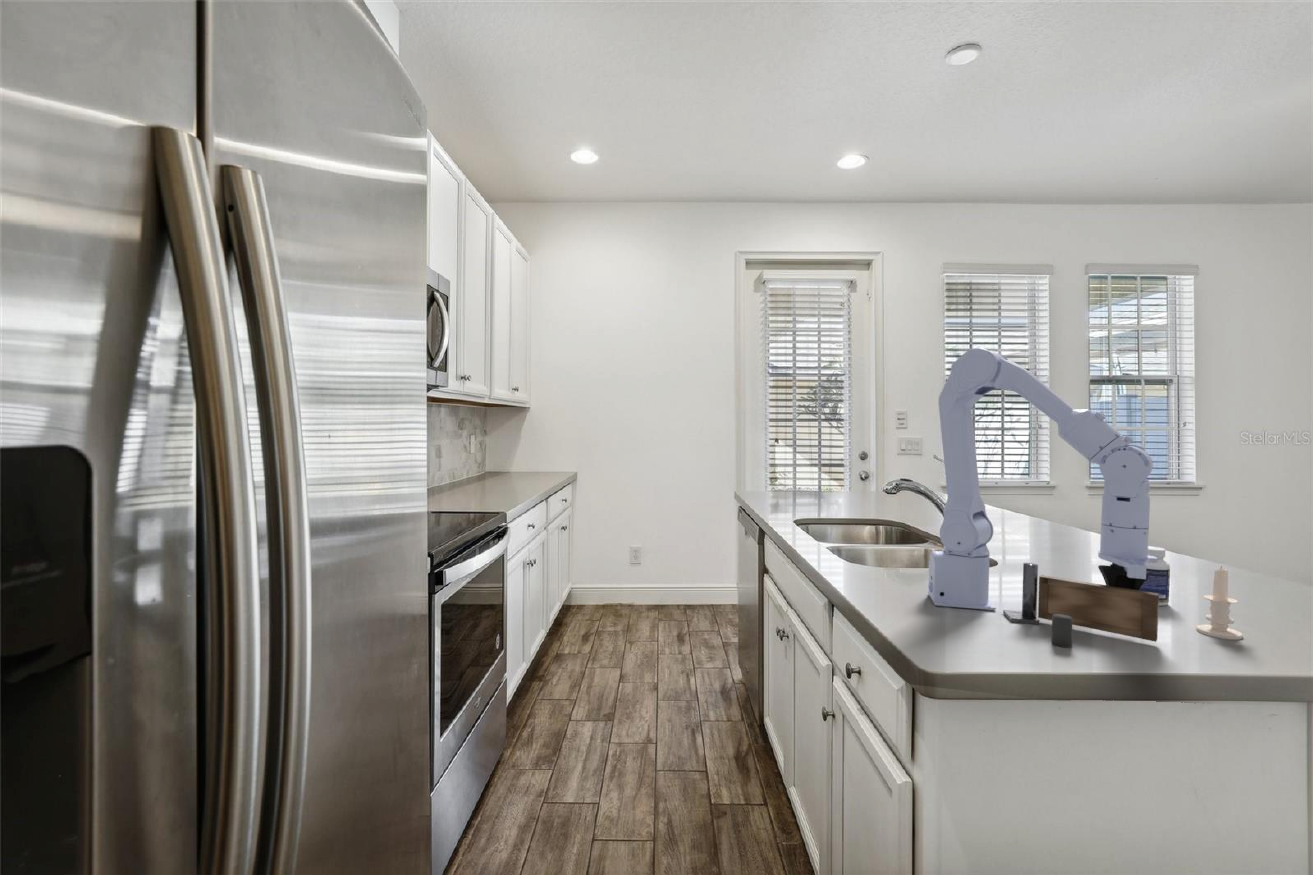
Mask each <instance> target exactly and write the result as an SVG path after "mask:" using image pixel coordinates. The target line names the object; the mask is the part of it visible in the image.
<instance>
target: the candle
mask: <svg viewBox="0 0 1313 875" xmlns="http://www.w3.org/2000/svg"><path fill="white" fill-rule="evenodd" d="M1228 570H1229V569H1225V568H1224V569H1222V565H1221V566H1220V568H1219V569H1215V570H1214V575H1213V585H1212V586H1213V587H1212V595H1211V594H1205V595H1203V596H1202V598H1204V599H1206V600H1208V601H1209V602H1210V607H1209V610H1210V611H1209V612H1210V614H1205V620H1207V621H1210V623H1209V624H1198V625H1196V631H1197V632H1198V633H1200V634H1202V635H1205V636H1207V637H1208V636H1209V637H1212V638H1215V639H1216V638H1217V639H1222V640H1223V639H1224V640H1229V641H1230V640H1232V641H1237V640H1242V639H1243V637H1244V636H1243V633H1242V632H1240V631H1238V630H1235V629H1233V628H1230V627H1229V625H1231V624H1234V623H1235V620H1234V619H1233V618H1232V617H1229V616H1230V612H1231V610H1230V607H1231V605H1232V604H1238V602H1239V601H1238V600H1237V599H1235V598H1232V597H1231V598H1230V597H1229V596H1228V594H1229V575H1228V574H1229V571H1228Z"/></svg>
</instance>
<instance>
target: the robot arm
mask: <svg viewBox="0 0 1313 875" xmlns="http://www.w3.org/2000/svg"><path fill="white" fill-rule="evenodd" d="M996 389H1001V390H1004V391H1005V390H1006V391H1009V392H1013V393H1014V392H1015V393H1017V394H1018V395H1019V396H1020V397H1022V398H1023V399H1025V400H1026V401H1027V402H1028V403H1030V404H1031V405H1032V406H1034V407H1035V408H1036V409H1038V410H1039V411H1040V412H1042V413H1043V414H1044V415H1045V416H1046V417H1048V418H1049V419H1051V420H1052V421H1054V423H1056V424H1057V427H1058V428H1057V429H1058V430H1057V431H1058V433H1057V434H1058V437H1060V439H1062V440H1063V441H1064V442H1066V443H1067V444H1068V445H1070V446H1071V447H1072V448H1073V449H1074V450H1075V451H1076V452H1078V454H1080V455H1081V456H1083V458H1085V459H1086V460H1087V461H1089V462H1090V463H1091V464H1097V465H1099V470H1100V474H1101V475H1102V477H1103V478H1104V482H1103V484H1104V485H1103V493H1102V495H1101V515H1100V516H1101V518H1100V520H1101V521H1100V540H1099V541H1100V542H1099V543H1100V547H1099V551H1098V553H1097V554H1098V558H1099V559H1101V560H1103V561H1106V562H1109V563H1112V564H1110V565H1103V564H1102V565H1100V564H1099V565H1097V566H1098V569H1099V572H1100V574H1101V576H1102V578H1103V579H1104V580H1103V581H1104V582H1105V585H1107V586H1114V587H1120V588H1126V589H1132V590H1139V589H1140V588H1141V586H1142V585H1143V583H1144V582H1145V581H1146V580H1147V578H1148V574H1147V573H1146V566H1147V565H1148V563H1158V558H1156V557H1155V556H1148V546H1149V533H1150V530H1149V529H1150V512H1151V511H1150V510H1151V509H1150V508H1151V505H1150V504H1151V498H1150V495H1149V493H1150V490H1151V486H1150V481H1149V479H1148V477H1149V476H1150V474H1151V473H1152V470H1153V468H1154V464H1153V459H1152V457H1151V456H1150V454H1149V453H1148V452H1147V451H1146V450H1145V448H1144V447H1142V446H1140V445H1136V444H1132V442H1133V441H1134V439H1133V437H1131V436H1129V435H1125V436H1124V435H1123V434H1121V433H1120V432H1119V430H1116V429H1115V428H1114V427H1113V426H1111V425H1110V424H1108V423H1107V422H1106V420H1105V419H1106V418H1107V417H1106V416H1105V415H1104V414H1103V413H1102V412H1100V411H1097V412H1093V411H1092V410H1091V409H1086V408H1085V409H1075V408H1073V407H1072V406H1071V405H1070V404H1069V403H1067V402H1066V401H1065V400H1064V399H1062V397H1060V396H1059V395H1058V394H1056V392H1054V391H1053V390H1052V389H1050V387H1048V386H1047V385H1046V384H1045V383H1044V382H1042V381H1041V380H1040V379H1039V378H1038V377H1037V376H1036V375H1034V374H1033V373H1032V372H1031V371H1030V370H1027V369H1026V368H1025V367H1023V366H1022V365H1019V363H1016V362H1014V361H1012V360H1009V358H1008V357H1007V356H1005V355H1003V354H1001V353H1000V352H991V351H990V350H988V349H985V348H981V347H979V348H978V347H977V348H972V349H969V350H967V351H965V352H964V353H963V354H962V355H960V357H958V358H957V359H956V360H955V362H953V363H952V364H951V367H950V373H949V374H948V378H947V380H946V381H945V384H944V386H943V387H942V390H941V392H940V394H939V396H938V410H939V412H938V413H939V421H940V431H941V433H940V434H941V440H942V442H941V443H942V451H943V452H942V454H943V462H944V472H945V473H944V474H945V484H946V493H947V500H946V502H945V505H944V508H943V512H942V513H943V521H942V524H941V526H940V529H939V538H940V541H941V543H942V545H943V550H931V551H930V553H929V557H928V558H929V559H928V560H929V561H928V590H927V594H928V596H929V597H930V599H931V601H932V602H933V604H934V605H935V606H938V607H949V608H951V607H952V608H964V609H974V610H975V609H976V610H987V611H996V610H997V608H996V606H995V605H994V604H993V603H992V602H991V601H990V599H989V591H990V590H989V589H990V588H989V587H990V582H989V581H990V552H991V551H990V550H989V548H988V546H987V544H988V543H989V542H990V541H991V540H992V538H993V535H994V526H993V524H992V521H991V519H989V517H988V514H987V511H986V505H985V503H984V501H983V498H982V497H981V491H980V483H979V472H978V463H977V452H976V440H975V432H974V431H975V430H974V422H973V413H972V412H973V411H972V408H973V407H974V405H976V403H978V402H979V400H981V399H982V398H983V397H984V396H985V395H986V394H988V393H989V392H990V393H991V391H993V390H996Z"/></svg>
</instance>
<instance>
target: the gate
mask: <svg viewBox="0 0 1313 875" xmlns="http://www.w3.org/2000/svg"><path fill="white" fill-rule="evenodd" d="M1037 605H1038V606H1037V619H1038V618H1039V619H1042V620H1048V621H1052V615H1053V614H1062V615H1067V616H1070V617H1072V618H1073V619H1072V626H1077V627H1081V628H1088V629H1092V630H1098V631H1102V632H1106V633H1112V634H1117V635H1121V636H1126V637H1132V638H1137V639H1141V640H1144V641H1145V640H1146V641H1149V642H1150V641H1151V642H1155V643H1156V642H1157V641H1158V628H1159V627H1158V626H1159V606H1158V605H1159V594H1158V593H1152V592H1146V591H1139V590H1132V589H1126V588H1120V587H1114V586H1107V585H1106V584H1100V583H1095V582H1089V581H1082V580H1077V579H1076V580H1075V579H1069V578H1064V577H1057V576H1056V577H1055V576H1052V575H1051V576H1050V575H1045V574H1041V575H1039V578H1038V603H1037Z"/></svg>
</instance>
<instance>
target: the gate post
mask: <svg viewBox="0 0 1313 875" xmlns="http://www.w3.org/2000/svg"><path fill="white" fill-rule="evenodd" d="M1038 572H1039V564H1037V563H1033V562H1023V566H1022V597H1021V598H1022V602H1021V603H1022V605H1021V606H1022V607H1021V610H1006V609H1003V610H1002V613H1003V615H1004V617H1006V618H1007V619H1008V620H1009V622H1011V623H1017V624H1018V623H1019V624H1031V625H1040V620H1039V619H1038V606H1037V605H1038V582H1039V578H1038Z"/></svg>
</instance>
